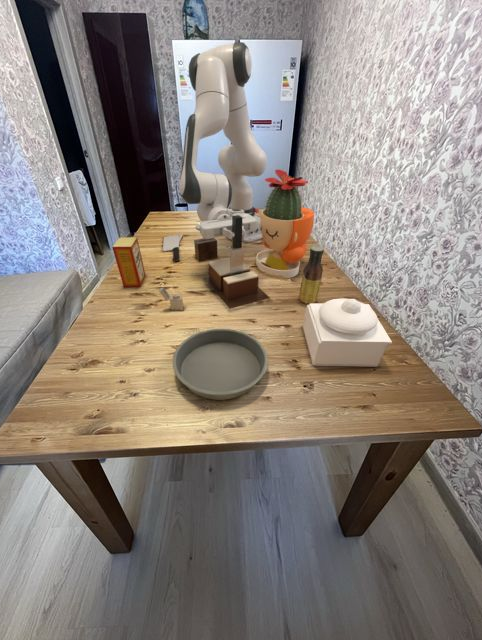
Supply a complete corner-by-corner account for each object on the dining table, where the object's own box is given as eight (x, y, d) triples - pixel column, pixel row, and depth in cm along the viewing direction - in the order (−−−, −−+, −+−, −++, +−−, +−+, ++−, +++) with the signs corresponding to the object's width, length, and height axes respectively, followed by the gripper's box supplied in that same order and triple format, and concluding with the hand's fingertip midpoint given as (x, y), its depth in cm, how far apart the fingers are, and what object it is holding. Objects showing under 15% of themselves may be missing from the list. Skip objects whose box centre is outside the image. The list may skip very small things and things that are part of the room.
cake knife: (228, 280, 104) (228, 216, 89) (240, 278, 105) (242, 214, 91) (231, 283, 102) (231, 218, 87) (244, 281, 104) (246, 216, 89)
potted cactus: (272, 282, 112) (283, 180, 89) (247, 260, 127) (250, 168, 104) (317, 271, 118) (338, 174, 95) (288, 252, 134) (299, 164, 110)
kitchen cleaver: (163, 235, 148) (182, 232, 148) (164, 238, 149) (183, 235, 149) (159, 261, 125) (181, 257, 125) (160, 264, 126) (182, 261, 126)
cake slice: (223, 294, 103) (223, 277, 99) (252, 287, 107) (253, 270, 103) (228, 299, 101) (228, 282, 96) (257, 292, 104) (258, 275, 100)
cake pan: (191, 420, 64) (189, 408, 61) (164, 353, 81) (162, 341, 78) (284, 386, 71) (286, 374, 68) (242, 331, 88) (242, 320, 85)
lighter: (183, 307, 99) (181, 286, 94) (183, 309, 98) (180, 289, 92) (163, 307, 99) (159, 286, 94) (162, 310, 98) (158, 289, 92)
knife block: (213, 253, 133) (212, 236, 127) (217, 258, 129) (217, 240, 124) (195, 257, 130) (193, 239, 124) (199, 261, 126) (197, 243, 121)
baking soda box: (129, 275, 117) (119, 236, 106) (145, 275, 117) (136, 236, 106) (123, 287, 110) (112, 246, 99) (140, 286, 110) (130, 245, 99)
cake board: (203, 279, 114) (203, 277, 113) (238, 271, 119) (238, 269, 118) (229, 311, 97) (229, 308, 96) (270, 300, 102) (270, 297, 101)
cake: (208, 277, 113) (207, 261, 109) (235, 271, 117) (235, 256, 112) (220, 291, 105) (220, 274, 101) (249, 284, 109) (250, 268, 104)
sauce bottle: (304, 295, 104) (315, 241, 91) (319, 302, 101) (332, 247, 87) (294, 302, 101) (303, 247, 87) (309, 309, 97) (321, 253, 84)
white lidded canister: (302, 326, 90) (311, 281, 79) (359, 327, 90) (376, 282, 79) (312, 365, 77) (325, 317, 66) (379, 367, 76) (403, 318, 66)
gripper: (192, 216, 96) (208, 229, 86) (246, 208, 102) (266, 219, 93) (194, 235, 100) (209, 249, 91) (245, 227, 106) (264, 239, 97)
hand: (238, 234), depth 92 cm, fingers closed on cake knife, 2 cm apart
